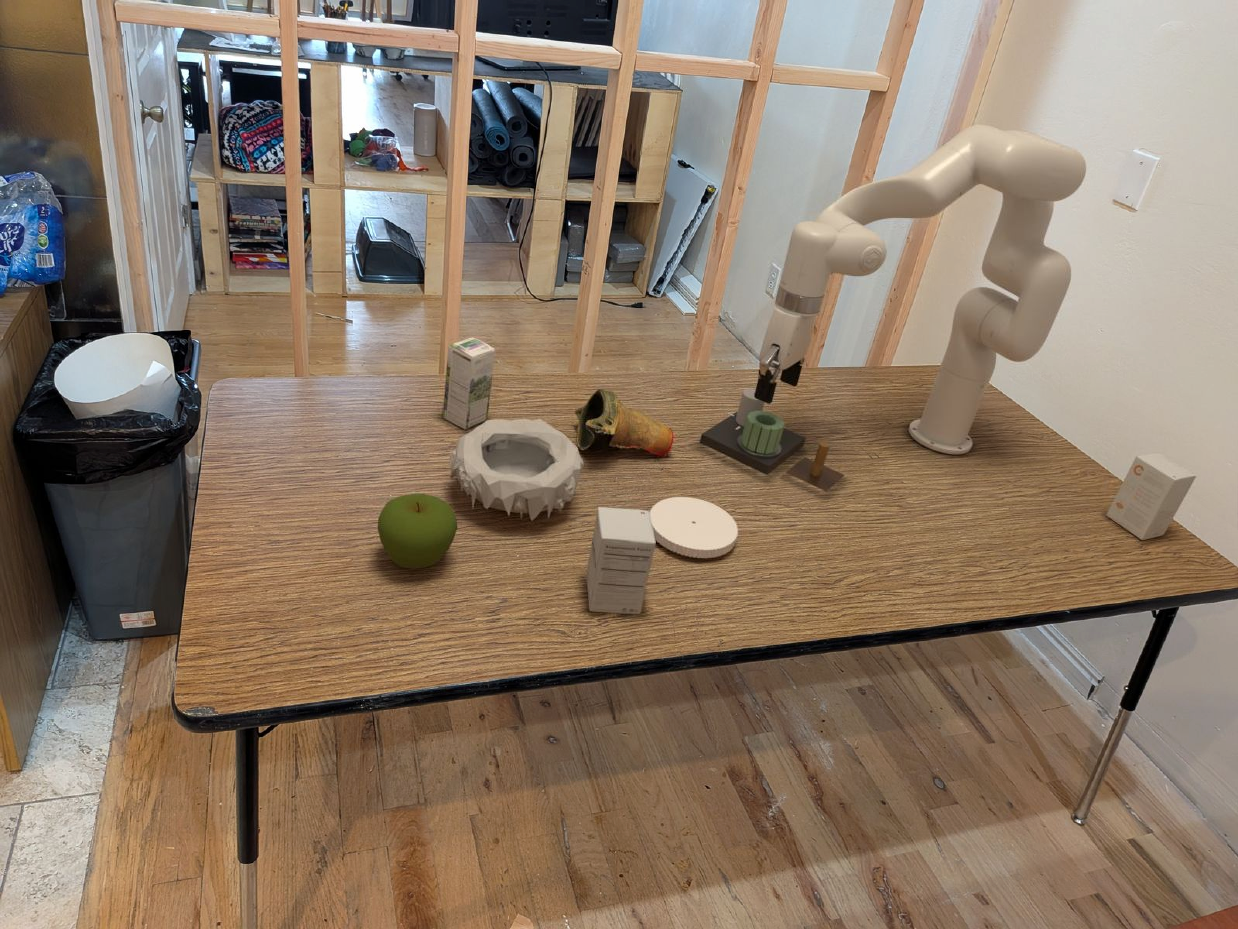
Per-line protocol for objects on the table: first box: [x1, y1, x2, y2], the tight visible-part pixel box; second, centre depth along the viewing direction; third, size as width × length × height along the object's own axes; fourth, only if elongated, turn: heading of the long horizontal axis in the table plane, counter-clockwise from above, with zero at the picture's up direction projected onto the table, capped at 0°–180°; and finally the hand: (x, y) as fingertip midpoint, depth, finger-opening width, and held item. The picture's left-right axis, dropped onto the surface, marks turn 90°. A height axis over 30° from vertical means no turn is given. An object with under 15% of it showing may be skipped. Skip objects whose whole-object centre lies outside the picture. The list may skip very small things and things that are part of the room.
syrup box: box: [442, 337, 496, 431], centre depth 159 cm, size 6×6×14 cm
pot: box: [573, 388, 675, 459], centre depth 160 cm, size 17×11×18 cm
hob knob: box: [736, 388, 766, 426], centre depth 171 cm, size 4×4×6 cm
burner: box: [737, 435, 781, 459], centre depth 165 cm, size 8×8×1 cm
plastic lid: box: [649, 496, 739, 559], centre depth 143 cm, size 14×14×2 cm
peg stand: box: [785, 441, 845, 493], centre depth 163 cm, size 8×8×7 cm
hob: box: [699, 410, 807, 476], centre depth 169 cm, size 15×15×3 cm
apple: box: [377, 493, 458, 570], centre depth 125 cm, size 11×10×10 cm
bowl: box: [449, 418, 585, 521], centre depth 142 cm, size 21×20×10 cm
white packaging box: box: [585, 506, 657, 615], centre depth 125 cm, size 7×7×13 cm
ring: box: [741, 410, 785, 454], centre depth 164 cm, size 7×7×5 cm
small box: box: [1105, 452, 1197, 541], centre depth 165 cm, size 8×6×13 cm
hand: (775, 391), depth 160 cm, fingers open, 9 cm apart
